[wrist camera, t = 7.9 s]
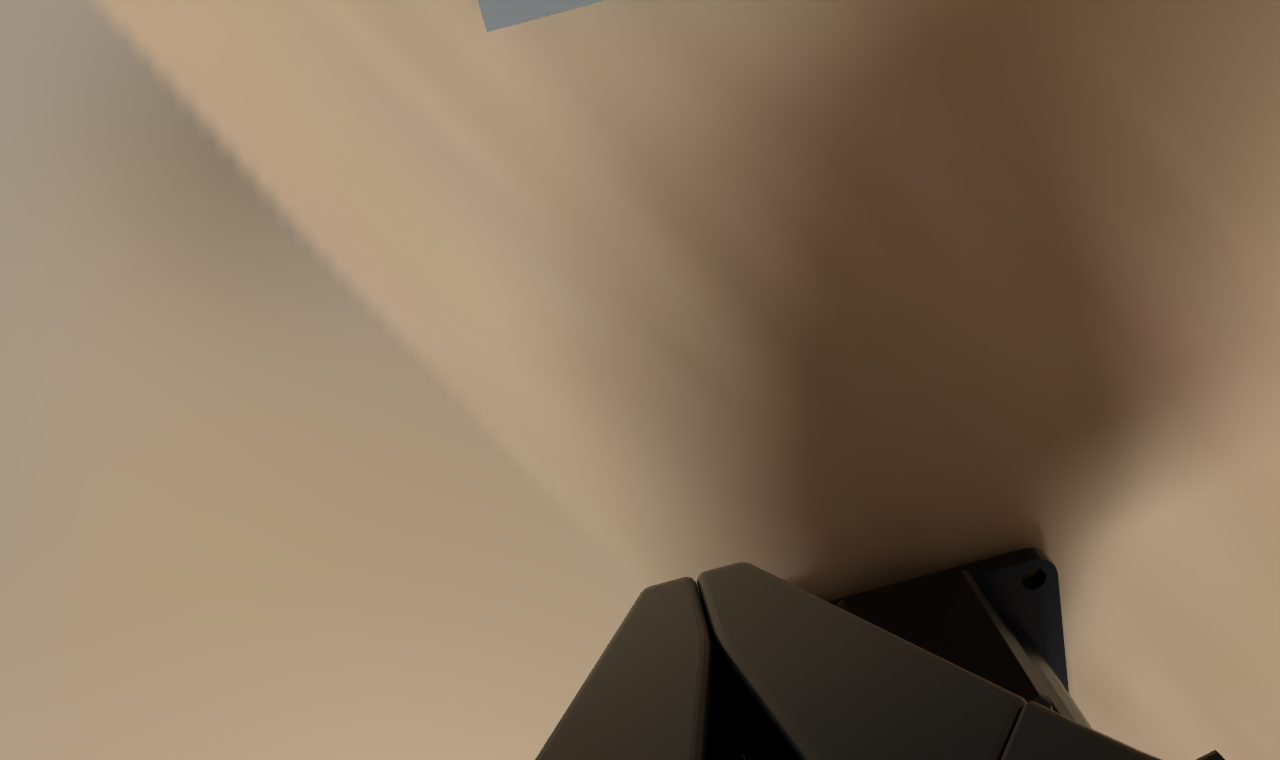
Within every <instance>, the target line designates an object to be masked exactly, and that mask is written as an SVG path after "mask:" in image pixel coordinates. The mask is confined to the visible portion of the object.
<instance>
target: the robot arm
mask: <svg viewBox="0 0 1280 760" xmlns="http://www.w3.org/2000/svg"><path fill="white" fill-rule="evenodd" d="M1033 569H1037V571H1036V572H1035V573H1034V574H1033V575H1032V576H1030V577H1028V578H1023V577H1024V575H1025V574H1026V573H1027V572H1029V571H1031V570H1033ZM697 585H698V588H697ZM698 589H699V591H698ZM699 593H700V594H699ZM700 597H701V598H700ZM743 755H744V756H743ZM744 759H745V760H1162V759H1159V758H1156V757H1154V756H1151V755H1149V754H1146V753H1144V752H1141V751H1139V750H1137V749H1135V748H1133V747H1130V746H1128V745H1126V744H1124V743H1122V742H1119V741H1117V740H1115V739H1113V738H1111V737H1108V736H1106V735H1104V734H1102V733H1100V732H1097V731H1095V730H1093V729H1092V728H1091V726H1090V725H1089V723H1088V722H1087V720H1086V719H1085V717H1084V716H1083V714H1082V713H1081V711H1080V710H1079V708H1078V707H1077V705H1076V704H1075V702H1074V701H1073V699H1072V698H1071V696H1070V695H1069V692H1068V681H1067V670H1066V659H1065V648H1064V637H1063V626H1062V615H1061V604H1060V593H1059V582H1058V573H1057V570H1056V567H1055V565H1054V564H1053V563H1052V561H1051V560H1050V559H1049V557H1048V556H1047V555H1046V554H1045V553H1044V552H1043V551H1042V550H1039V549H1035V548H1027V549H1021V550H1018V551H1014V552H1010V553H1007V554H1003V555H999V556H996V557H992V558H988V559H985V560H981V561H977V562H974V563H970V564H966V565H963V566H959V567H955V568H951V569H948V570H944V571H940V572H937V573H933V574H929V575H926V576H922V577H918V578H915V579H911V580H907V581H904V582H900V583H896V584H893V585H889V586H885V587H882V588H878V589H874V590H871V591H867V592H863V593H860V594H856V595H852V596H849V597H845V598H841V599H837V600H834V601H830V602H827V601H825V600H823V599H821V598H819V597H817V596H815V595H813V594H811V593H808V592H806V591H804V590H802V589H800V588H798V587H796V586H794V585H792V584H790V583H788V582H786V581H784V580H782V579H780V578H778V577H776V576H774V575H772V574H770V573H768V572H766V571H764V570H762V569H760V568H758V567H756V566H754V565H752V564H750V563H745V562H738V563H735V564H731V565H727V566H724V567H720V568H717V569H713V570H709V571H706V572H703V573H701V574H700V575H699V576H698V579H697V584H696V582H695V581H694V580H693V579H692V578H689V577H683V578H680V579H676V580H672V581H668V582H665V583H661V584H657V585H653V586H650V587H647V588H646V589H645V590H644V591H642V592H641V594H640V595H639V597H638V598H637V600H636V602H635V603H634V605H633V606H632V608H631V610H630V611H629V613H628V614H627V616H626V617H625V619H624V621H623V622H622V624H621V625H620V627H619V628H618V630H617V632H616V633H615V635H614V636H613V638H612V640H611V641H610V643H609V644H608V646H607V647H606V649H605V651H604V652H603V654H602V655H601V657H600V659H599V660H598V662H597V663H596V665H595V666H594V668H593V669H592V671H591V673H590V674H589V676H588V677H587V679H586V680H585V682H584V684H583V685H582V687H581V688H580V690H579V691H578V693H577V695H576V696H575V698H574V700H573V701H572V703H571V704H570V706H569V707H568V709H567V710H566V712H565V714H564V715H563V717H562V718H561V720H560V722H559V723H558V725H557V726H556V728H555V729H554V731H553V733H552V734H551V736H550V737H549V739H548V740H547V742H546V744H545V745H544V747H543V748H542V750H541V751H540V753H539V755H538V756H537V758H536V759H535V760H744ZM1196 760H1225V759H1224V758H1223V757H1222V756H1221V755H1220V754H1219V753H1218V752H1217V751H1216V750H1214V751H1212V752H1210V753H1208V754H1206V755H1204V756H1202V757H1200V758H1198V759H1196Z"/></svg>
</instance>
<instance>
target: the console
mask: <svg viewBox="0 0 1280 760" xmlns="http://www.w3.org/2000/svg"><path fill="white" fill-rule="evenodd" d="M601 1H604V0H478V2H479V6H480V9H481V13H482V16H483V19H484V23H485V26H486V30H487V32H489V31H493V30H496V29H500V28H504V27H507V26H511V25H515V24H519V23H522V22H526V21H530V20H534V19H537V18H541V17H545V16H548V15H552V14H556V13H560V12H563V11H567V10H571V9H574V8H578V7H582V6H586V5H589V4H593V3H597V2H601Z"/></svg>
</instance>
